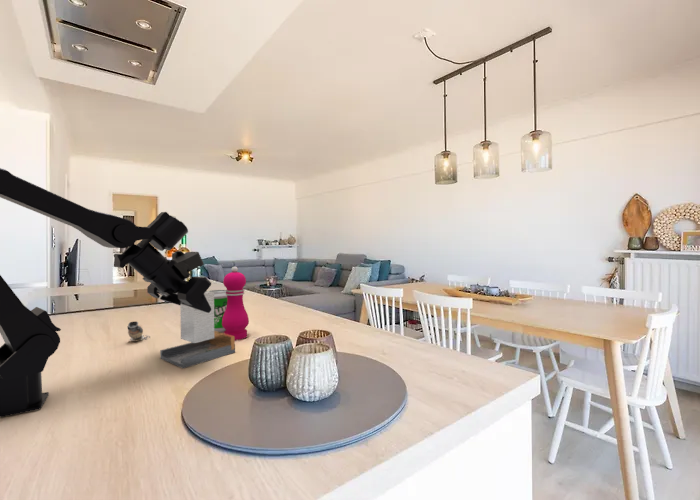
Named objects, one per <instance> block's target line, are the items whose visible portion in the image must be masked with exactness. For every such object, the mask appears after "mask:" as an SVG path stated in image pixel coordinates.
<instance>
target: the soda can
mask: <svg viewBox="0 0 700 500" xmlns="http://www.w3.org/2000/svg"><path fill="white" fill-rule="evenodd" d="M226 290H227V289H213V290H212V289H211V290H208V291H209V292H214V331H218V332H221V333H224V332H225V331H226V329H225V328H224V327H223V326H222V318H223V315H224V313H225V310H226V307H227V295H226Z"/></svg>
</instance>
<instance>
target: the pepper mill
mask: <svg viewBox="0 0 700 500" xmlns="http://www.w3.org/2000/svg"><path fill="white" fill-rule="evenodd" d="M238 270H239V268H238V267H237V266H232V267H231V272H229V273H227V274H226V275H225V276H224V277H223V281H222V282H223V285H224V287H225V288H226V289H225V290H226V295H227V307H226V310H225V313H224V315H223V318H222V326H223V327H224V328H225V329H226V331H225V332H223V333H225V334H229V335H232V336H235V341H239V340H240V341H241V340H244V339H246V338H247V337H248V330H247V329H246V328H247V327H248V325H249V321H250V320H249V314H248V312H247V310H246V308H245V305H244V300H243V299H244V296H243V295H244V294H245V289H244V287H245V285H246V284H247V279H246V276H245V274H243V273H242V272H238Z"/></svg>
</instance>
